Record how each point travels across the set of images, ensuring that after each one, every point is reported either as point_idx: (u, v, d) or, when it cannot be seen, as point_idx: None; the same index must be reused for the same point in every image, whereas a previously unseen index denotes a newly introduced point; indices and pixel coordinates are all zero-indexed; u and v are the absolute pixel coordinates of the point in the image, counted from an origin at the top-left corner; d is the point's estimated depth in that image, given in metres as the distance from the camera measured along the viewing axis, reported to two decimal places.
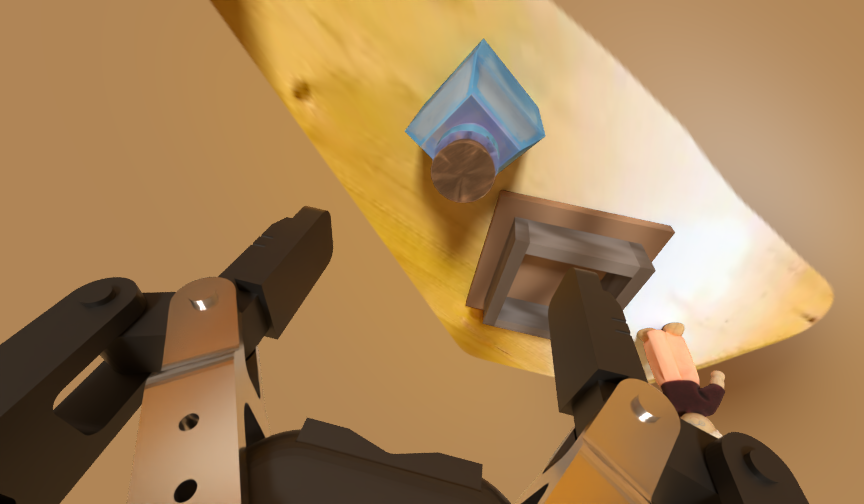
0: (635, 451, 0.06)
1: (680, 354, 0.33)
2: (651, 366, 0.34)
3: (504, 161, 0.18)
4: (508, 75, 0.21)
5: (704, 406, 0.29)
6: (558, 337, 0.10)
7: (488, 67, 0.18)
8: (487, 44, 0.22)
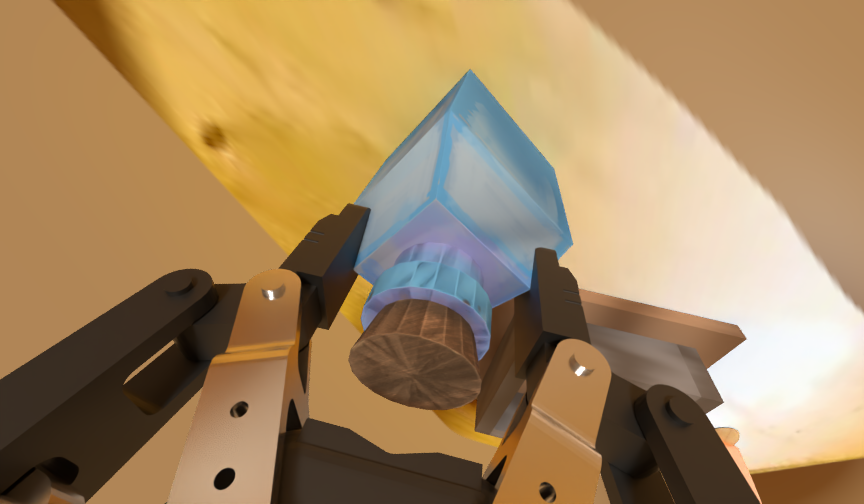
0: (577, 405, 0.06)
1: None
2: None
3: (502, 301, 0.10)
4: (509, 130, 0.13)
5: None
6: (519, 311, 0.10)
7: (472, 136, 0.09)
8: (476, 79, 0.14)
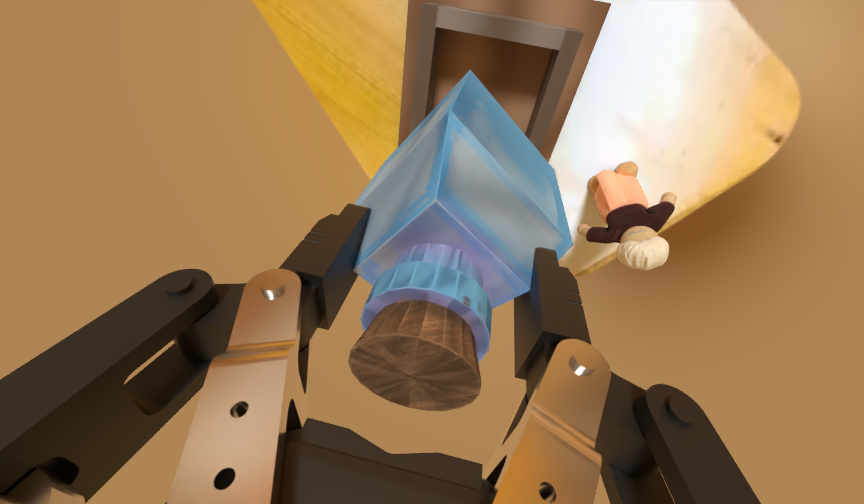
0: (577, 405, 0.06)
1: (630, 188, 0.29)
2: (599, 208, 0.30)
3: (501, 301, 0.10)
4: (509, 130, 0.13)
5: (649, 220, 0.25)
6: (519, 311, 0.10)
7: (472, 137, 0.09)
8: (476, 79, 0.14)
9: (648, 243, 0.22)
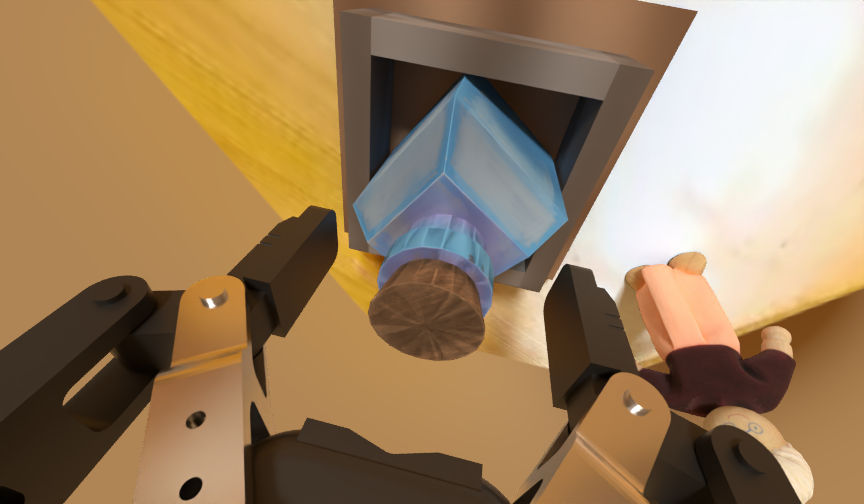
0: (627, 444, 0.06)
1: (701, 303, 0.18)
2: (648, 326, 0.19)
3: (503, 269, 0.11)
4: (509, 118, 0.14)
5: (756, 393, 0.14)
6: (553, 333, 0.10)
7: (475, 119, 0.11)
8: None
9: None
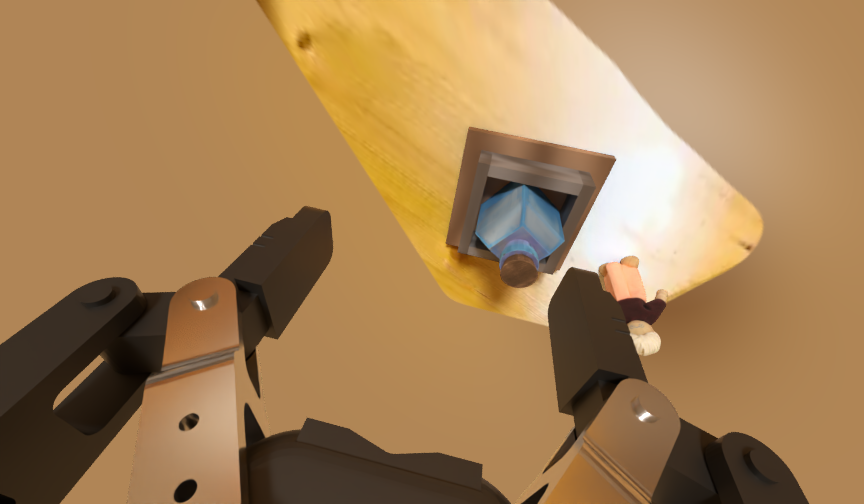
0: (635, 451, 0.06)
1: (633, 280, 0.37)
2: None
3: (540, 259, 0.30)
4: (540, 197, 0.34)
5: (646, 315, 0.33)
6: (558, 337, 0.10)
7: (531, 205, 0.30)
8: None
9: (645, 339, 0.30)
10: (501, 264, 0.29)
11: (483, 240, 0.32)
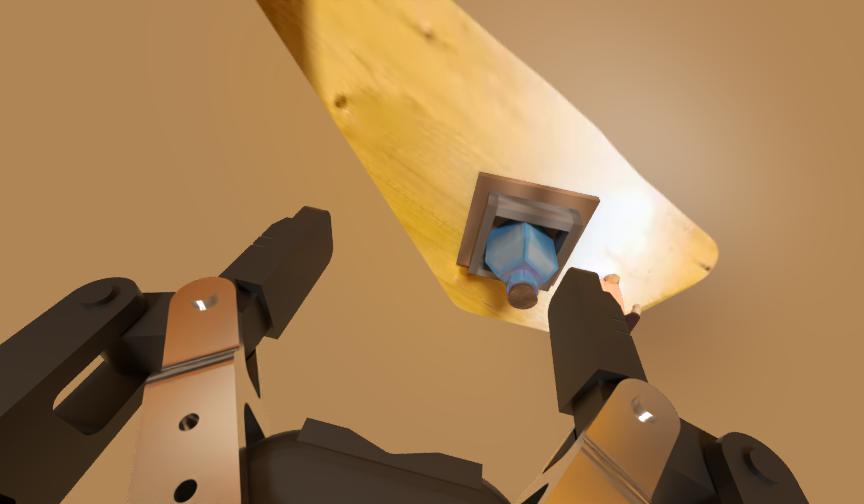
0: (635, 451, 0.06)
1: (614, 295, 0.45)
2: None
3: (538, 284, 0.37)
4: (538, 230, 0.41)
5: None
6: (558, 337, 0.10)
7: (531, 242, 0.37)
8: None
9: None
10: (508, 290, 0.36)
11: (492, 268, 0.39)
